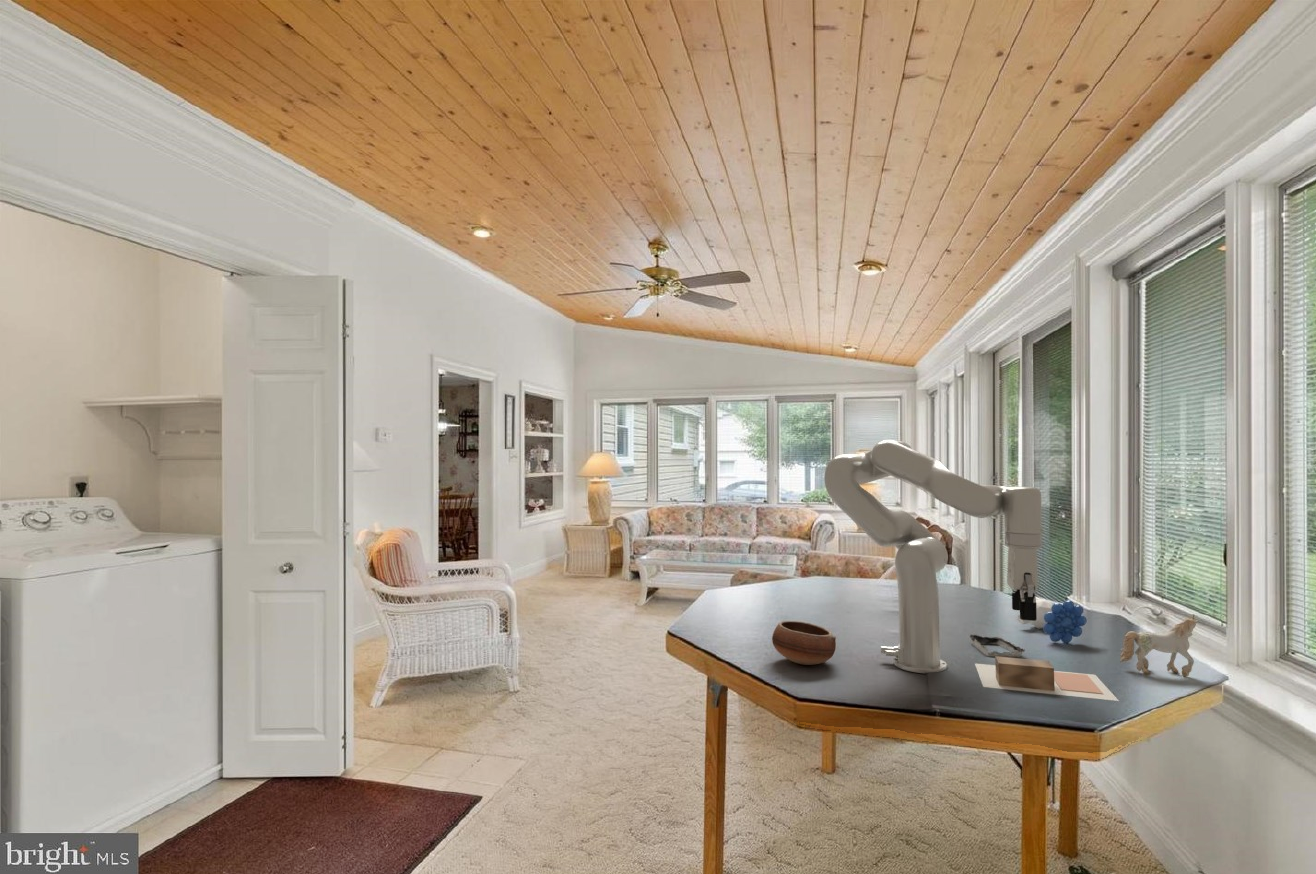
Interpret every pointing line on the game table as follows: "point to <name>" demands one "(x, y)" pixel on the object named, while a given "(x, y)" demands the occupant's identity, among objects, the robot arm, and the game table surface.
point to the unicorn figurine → (1161, 645)
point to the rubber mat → (1055, 684)
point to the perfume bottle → (1039, 614)
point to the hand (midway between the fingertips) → (1023, 614)
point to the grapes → (1064, 621)
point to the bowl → (803, 642)
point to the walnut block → (1024, 673)
